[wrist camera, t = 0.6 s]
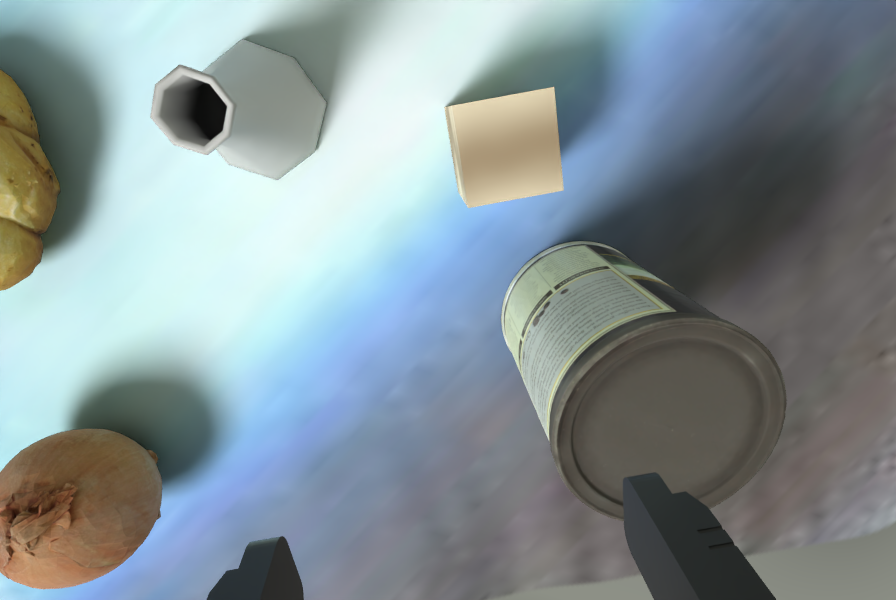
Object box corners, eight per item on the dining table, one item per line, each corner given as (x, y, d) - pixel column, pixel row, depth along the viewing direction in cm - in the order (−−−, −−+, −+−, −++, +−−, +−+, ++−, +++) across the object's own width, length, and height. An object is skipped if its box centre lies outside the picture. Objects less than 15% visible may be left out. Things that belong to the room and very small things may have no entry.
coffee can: (657, 238, 34) (815, 316, 21) (636, 377, 37) (759, 520, 24) (502, 239, 33) (563, 321, 20) (496, 380, 37) (544, 530, 23)
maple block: (444, 107, 30) (451, 105, 25) (527, 92, 30) (554, 86, 25) (458, 191, 32) (468, 208, 26) (536, 177, 32) (563, 190, 26)
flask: (237, 13, 28) (148, -39, 18) (349, 99, 30) (320, 92, 20) (173, 125, 30) (63, 130, 20) (283, 200, 31) (229, 236, 22)
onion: (117, 394, 38) (20, 405, 28) (213, 475, 38) (149, 514, 28) (20, 498, 37) (-119, 547, 27) (120, 582, 37) (18, 663, 27)
